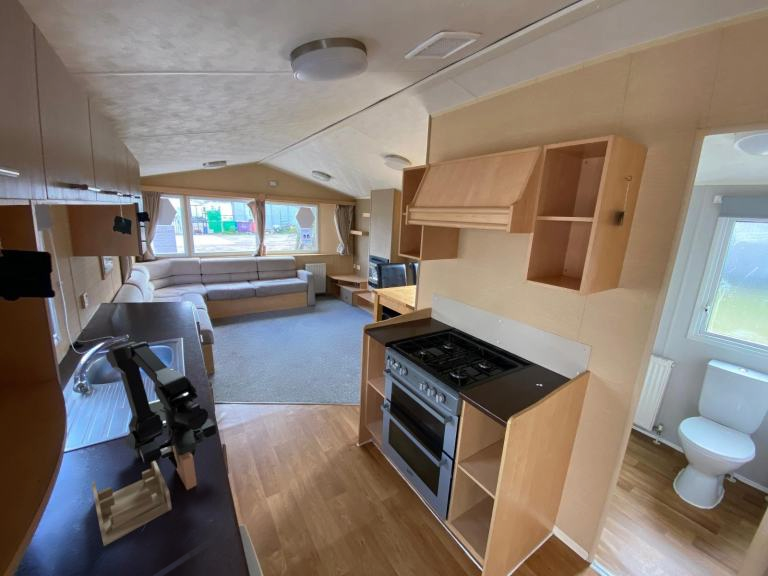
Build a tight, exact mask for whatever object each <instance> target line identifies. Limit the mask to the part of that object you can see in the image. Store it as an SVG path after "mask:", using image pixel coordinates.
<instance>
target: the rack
mask: <svg viewBox="0 0 768 576" xmlns="http://www.w3.org/2000/svg"><path fill="white" fill-rule="evenodd" d="M150 464H151V467H150V468H149V469H146V470H144V471H141V475H142V479H140V480H138V481H136V482H134V483H132V484H129V485H127V486H125V487H123V488H120V489H119V490H116V491H114V492H113V491H112V487H111V486H109V487H106V488H105V489H101V490H100V491H98V489H97V488H98V487H97V484H96V481H93V482H91V487H92V492H93V497H94V498H93V499H94V503H95V509H96V513H97V514H96V515H97V520H98V525H99V530H100V535H101V539H102V543H103V544H102V545H103V547H106V546H108V545H109V544H111V543H112V542H115V541H116V540H118V539H121V538H122V537H124V536H126V535H127V534H129V533H131V532H133V531H135V530H137V529H138V528H140V527H142V526H144V525H145V524H147V523H149V522H151V521H153V520H155V519H156V518H158V517H160V516H162V515H164V514H167V513H168V512H170V511H171V510H172V509H173V508H172V501H171V495H170V494H171V493H170V489H169V488H168V484H167V483H166V481H165V479H164V476H163V475H162V472H161V470H160V467H159V466H158V463H157V460H155V461H153V462H151V463H150ZM148 488H149V491H150V493H151V495H153V494H155V493H157V495H158V498H159V500H160V506H159V507H157V508H155V509H153V510H151V511H149V512H147V513H145V514H143V515H142V516H140V517H138V518H136V519H134V520H132V521H130V522H128V523H126V524H125V525H123V526H121V527H119V528H117V529H115V530H113V531H112V526H111V522H110V517H109V516H111V515H112V513H111V508H110V507H111V506H113V505H115V504H117V503H119V502H121V501H123V500H125V499H127V498H129V497H131V496H134V495H136V494H138V493H140V492H142V491H144V490H146V489H148Z"/></svg>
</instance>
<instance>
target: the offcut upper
mask: <svg viewBox="0 0 768 576" xmlns="http://www.w3.org/2000/svg"><path fill="white" fill-rule="evenodd" d="M152 505H153V501H152V496H151V493H150V491H149V488H148V489H146V490H144V491H142V492H140V493H138V494H136V495H134V496H131V497H129V498H127V499H125V500H123V501H121V502H119V503H117V504H115V505H113V506H111V507H110V508H111V513H112V517H113V522H114V525H115V524H117V523H119V522H121V521H123V520H125V519H127V518H129V517H131V516H133V515H135V514H137V513H138V512H140V511H142V510H144V509H146V508H148V507H150V506H152Z"/></svg>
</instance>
